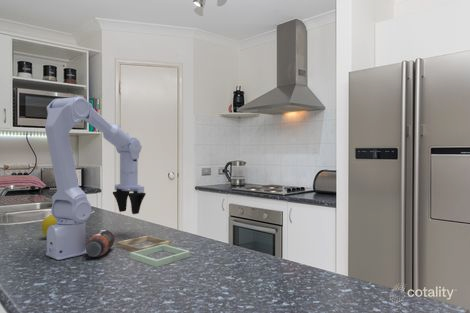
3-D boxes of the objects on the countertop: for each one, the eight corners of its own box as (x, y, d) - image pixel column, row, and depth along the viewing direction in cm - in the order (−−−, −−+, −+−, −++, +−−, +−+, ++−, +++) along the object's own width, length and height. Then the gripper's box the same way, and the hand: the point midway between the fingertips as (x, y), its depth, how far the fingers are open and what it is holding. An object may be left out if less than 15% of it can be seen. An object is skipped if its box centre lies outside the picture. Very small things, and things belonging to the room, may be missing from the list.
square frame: (156, 267, 87) (156, 261, 87) (129, 258, 95) (129, 252, 95) (190, 256, 96) (190, 251, 96) (163, 249, 104) (163, 244, 104)
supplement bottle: (99, 226, 104) (87, 234, 93) (118, 233, 104) (108, 242, 93) (91, 244, 104) (78, 255, 92) (110, 252, 104) (99, 263, 93)
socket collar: (139, 254, 99) (139, 248, 99) (116, 247, 106) (116, 242, 106) (170, 245, 108) (170, 241, 108) (147, 239, 115) (147, 235, 115)
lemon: (63, 237, 119) (63, 213, 119) (53, 241, 113) (53, 216, 113) (48, 236, 119) (48, 213, 119) (37, 240, 114) (37, 216, 114)
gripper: (151, 173, 117) (151, 213, 117) (126, 171, 126) (126, 208, 126) (133, 173, 112) (133, 216, 112) (109, 172, 121) (109, 211, 121)
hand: (128, 212), depth 119 cm, fingers open, 7 cm apart
